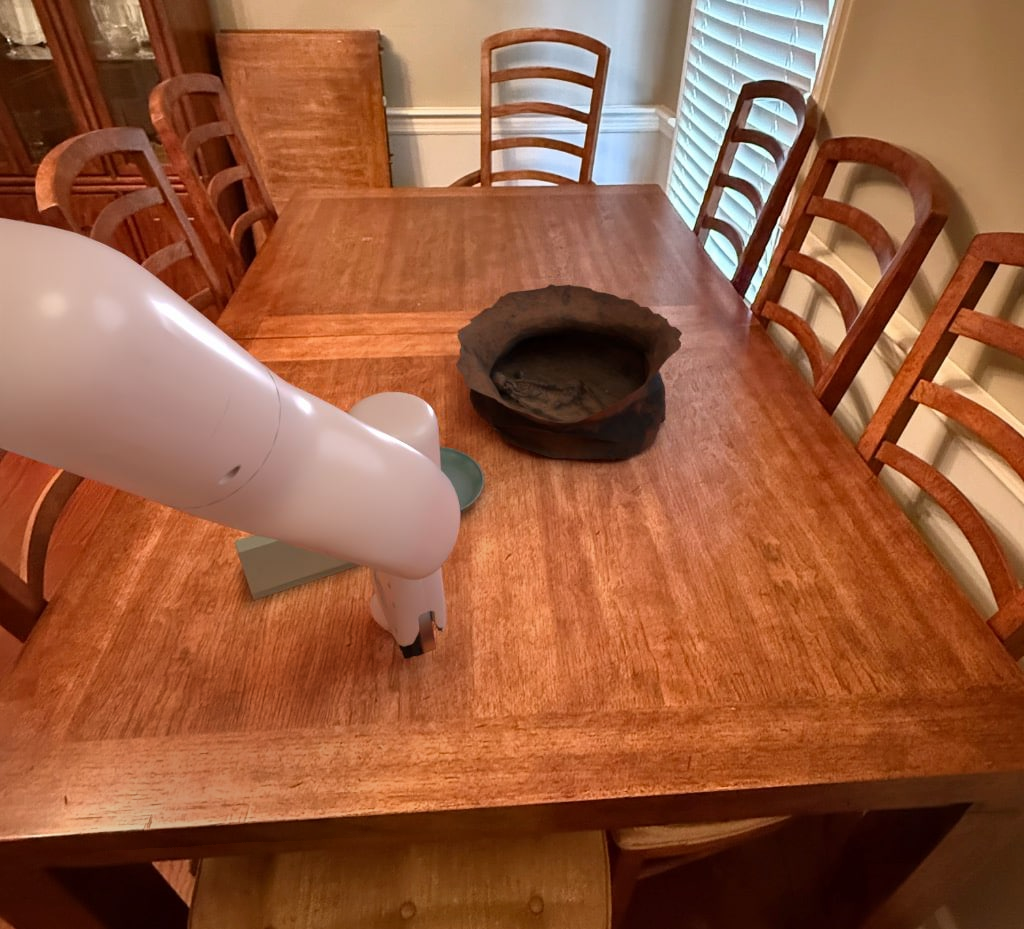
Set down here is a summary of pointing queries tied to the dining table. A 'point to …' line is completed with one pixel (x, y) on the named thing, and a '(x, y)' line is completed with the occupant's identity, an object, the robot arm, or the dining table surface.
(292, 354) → the dining table surface
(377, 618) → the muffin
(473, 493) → the saucer
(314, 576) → the wall
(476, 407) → the bowl
